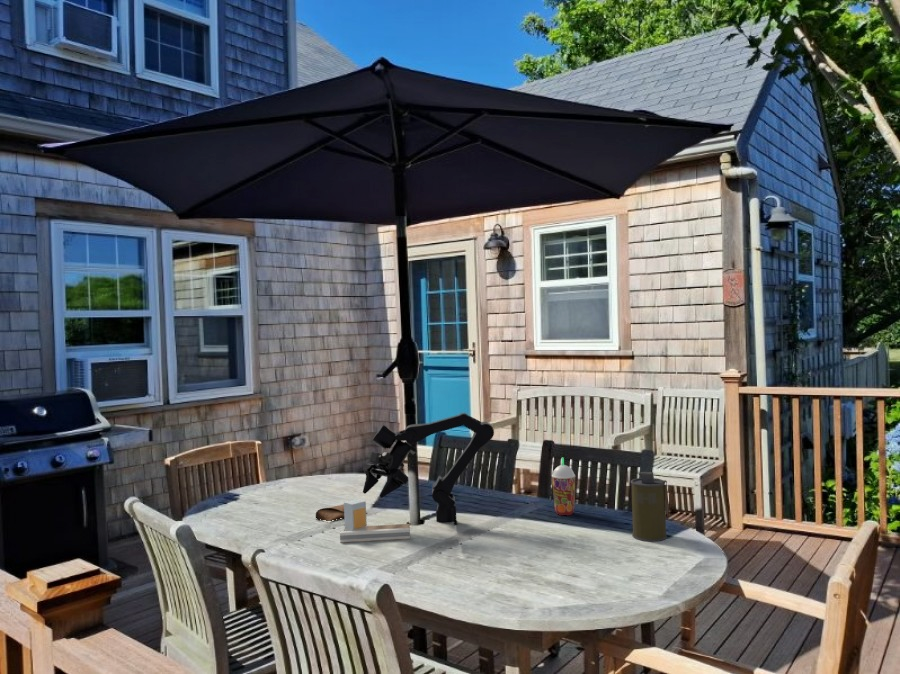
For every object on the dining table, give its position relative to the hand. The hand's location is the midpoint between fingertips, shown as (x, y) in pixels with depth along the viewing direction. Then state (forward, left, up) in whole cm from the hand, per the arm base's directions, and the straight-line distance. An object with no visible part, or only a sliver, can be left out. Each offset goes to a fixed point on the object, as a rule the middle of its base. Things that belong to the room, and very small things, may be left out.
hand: (372, 495), depth 241 cm
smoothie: (-67, -12, -13) cm, 69 cm away
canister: (-87, +20, -13) cm, 90 cm away
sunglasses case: (+13, -25, -14) cm, 31 cm away
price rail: (-1, +11, -12) cm, 16 cm away
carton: (+5, +5, -12) cm, 14 cm away
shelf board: (-1, +3, -13) cm, 13 cm away
